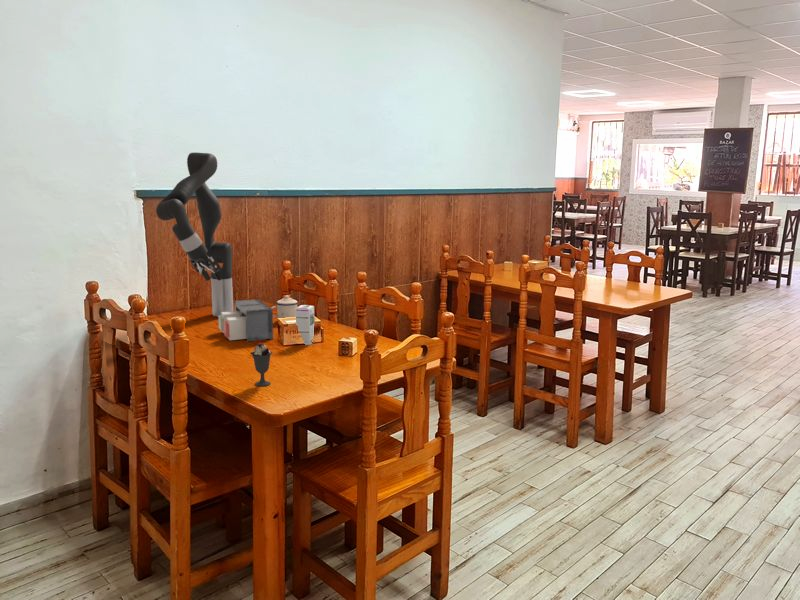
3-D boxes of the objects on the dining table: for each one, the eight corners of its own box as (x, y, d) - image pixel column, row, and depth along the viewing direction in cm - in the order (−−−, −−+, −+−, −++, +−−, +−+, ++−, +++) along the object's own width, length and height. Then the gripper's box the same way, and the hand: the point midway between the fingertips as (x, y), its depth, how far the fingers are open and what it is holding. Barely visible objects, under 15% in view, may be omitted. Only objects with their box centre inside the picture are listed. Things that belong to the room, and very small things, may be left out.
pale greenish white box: (219, 331, 265) (218, 312, 264) (241, 329, 269) (240, 310, 268) (221, 334, 261) (220, 314, 259) (244, 332, 265) (243, 313, 263)
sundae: (253, 380, 205) (251, 334, 202) (274, 380, 205) (273, 334, 203) (250, 387, 198) (248, 340, 196) (272, 387, 199) (270, 340, 196)
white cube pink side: (224, 337, 256) (223, 317, 254) (247, 335, 260) (246, 316, 258) (226, 340, 251) (225, 320, 250) (250, 338, 255) (249, 318, 253)
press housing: (235, 328, 272) (234, 300, 269) (259, 326, 276) (258, 298, 274) (247, 341, 251) (246, 311, 249) (273, 339, 256) (272, 309, 253)
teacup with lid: (295, 318, 291) (295, 293, 289) (299, 323, 283) (299, 297, 280) (269, 320, 287) (268, 294, 285) (272, 325, 279) (271, 298, 277)
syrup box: (310, 345, 247) (309, 308, 244) (295, 344, 248) (295, 307, 246) (315, 341, 253) (314, 305, 250) (301, 340, 254) (300, 304, 251)
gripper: (210, 239, 251) (231, 273, 259) (190, 241, 261) (211, 274, 268) (196, 250, 247) (218, 284, 254) (176, 252, 256) (198, 285, 264)
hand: (214, 279), depth 261 cm, fingers open, 8 cm apart
